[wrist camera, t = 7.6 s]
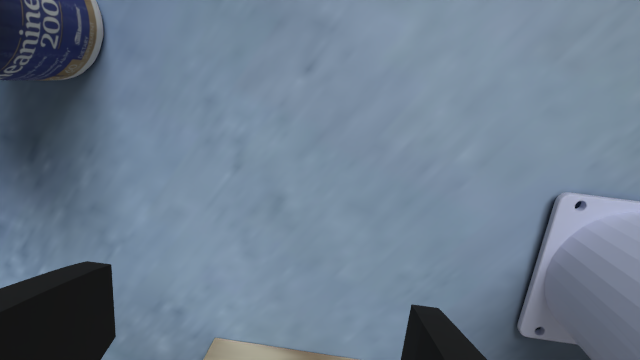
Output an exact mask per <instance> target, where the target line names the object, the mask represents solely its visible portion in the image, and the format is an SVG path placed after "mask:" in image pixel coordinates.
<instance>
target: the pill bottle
mask: <svg viewBox="0 0 640 360" xmlns="http://www.w3.org/2000/svg"><path fill="white" fill-rule="evenodd" d="M102 40H103V23H102V17H101V13H100V10H99V7H98V4H97V2H96V0H0V80H43V81H47V80H65V79H69V78H73V77H76V76H78V75H80V74H82V73H83V72H84V71H85V70H86V69H88V68H89V67H90V66H91V65H92V64H93V63H94V61H95V59H96V58H97V56H98V53H99V51H100V48H101V43H102Z"/></svg>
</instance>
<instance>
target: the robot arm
mask: <svg viewBox="0 0 640 360" xmlns="http://www.w3.org/2000/svg"><path fill="white" fill-rule="evenodd" d="M578 201H581V205H580V207H578V208H575V204H576V203H577V202H578ZM538 327H541V328H540V329H539V330H536V331H535V329H536V328H538ZM517 328H518V330H519V331H520V333H521V334H522V335H523V336H525V337H529V338H536V339H543V340H550V341H556V342H563V343H570V344H577V345H579V346H580V347H581V348H582V350H583V351H584V352H585V353H586V354H587V355H588V357H589V358H590V359H591V360H640V201H632V200H624V199H616V198H609V197H601V196H593V195H585V194H577V193H569V192H567V193H562V194H560V195H559V196H558V197H557V198H556V200H555V203H554V206H553V209H552V213H551V216H550V219H549V222H548V226H547V229H546V232H545V236H544V239H543V242H542V245H541V249H540V252H539V255H538V259H537V262H536V265H535V268H534V272H533V275H532V278H531V282H530V285H529V288H528V291H527V295H526V298H525V301H524V305H523V308H522V311H521V314H520V318H519V321H518V325H517ZM115 337H116V335H115V319H114V302H113V286H112V270H111V264H103V263H96V262H88V261H86V262H82V263H78V264H74V265H71V266H67V267H64V268H60V269H57V270H54V271H51V272H48V273H45V274H42V275H39V276H36V277H33V278H30V279H27V280H24V281H21V282H18V283H15V284H12V285H9V286H6V287H4V288H1V289H0V360H101V358H102V357H103V355H104V354H105V352H106V351H107V349H108V348H109V346H110V344H111V343H112V341H113V340H114V338H115ZM401 360H487V359H486V358H485V357H484V356H483V355H482V354H481V353H480V352H479V351H478V350H477V349H476V348H475V346H474V345H473V344H472V343H471V342H470V341H469V340H468V339H467V338H466V337H465V336H464V335H463V334H462V333H461V331H460V330H459V329H458V328H457V327H456V326H455V325H454V324H453V323H452V322H451V321H450V320H449V319H448V317H447V316H446V315H445V314H444V313H443V312H442V311H441V310H440V309H439V308H434V307H426V306H419V305H411V310H410V315H409V320H408V325H407V331H406V336H405V341H404V346H403V351H402V356H401Z"/></svg>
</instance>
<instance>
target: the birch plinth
mask: <svg viewBox="0 0 640 360" xmlns="http://www.w3.org/2000/svg"><path fill="white" fill-rule="evenodd" d="M204 360H358V359H351V358H344V357H338V356H331V355H325V354H318V353H312V352H305V351H299V350H292V349H286V348H279V347H272V346H266V345H259V344H253V343H246V342H240V341H233V340H227V339H220V338H215V339H214V341H213V342H212V344H211V346H210V348H209V350H208V352H207V354H206V356H205V358H204Z"/></svg>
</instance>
